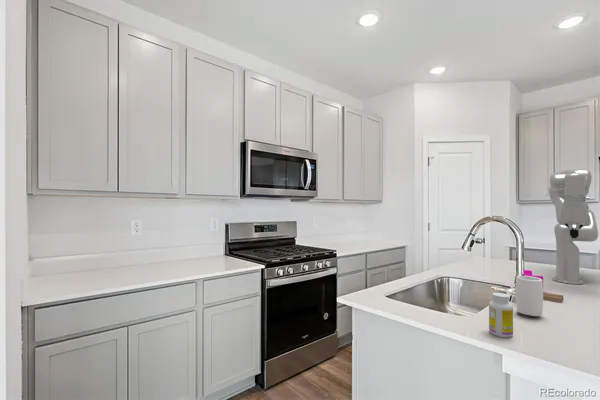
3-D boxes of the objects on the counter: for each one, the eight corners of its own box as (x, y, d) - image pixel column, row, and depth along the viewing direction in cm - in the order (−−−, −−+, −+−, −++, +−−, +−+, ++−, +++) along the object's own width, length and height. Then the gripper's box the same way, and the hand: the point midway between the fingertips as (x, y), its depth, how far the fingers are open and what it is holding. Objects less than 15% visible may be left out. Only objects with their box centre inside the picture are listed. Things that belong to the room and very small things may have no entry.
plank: (514, 290, 153) (515, 286, 153) (563, 299, 140) (563, 295, 140) (511, 293, 148) (511, 289, 148) (561, 302, 135) (561, 298, 135)
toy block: (516, 283, 167) (516, 269, 167) (529, 284, 165) (529, 270, 165) (527, 291, 153) (527, 275, 153) (543, 292, 151) (543, 276, 151)
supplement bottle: (515, 334, 103) (515, 294, 103) (510, 340, 99) (510, 299, 99) (492, 328, 108) (492, 290, 108) (486, 333, 104) (486, 294, 104)
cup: (547, 320, 115) (547, 281, 115) (520, 318, 117) (520, 279, 117) (537, 312, 123) (537, 276, 123) (512, 310, 126) (512, 274, 126)
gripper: (597, 199, 147) (596, 238, 148) (556, 199, 158) (555, 235, 159) (595, 199, 142) (594, 240, 143) (552, 199, 153) (552, 237, 154)
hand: (574, 237), depth 151 cm, fingers closed
